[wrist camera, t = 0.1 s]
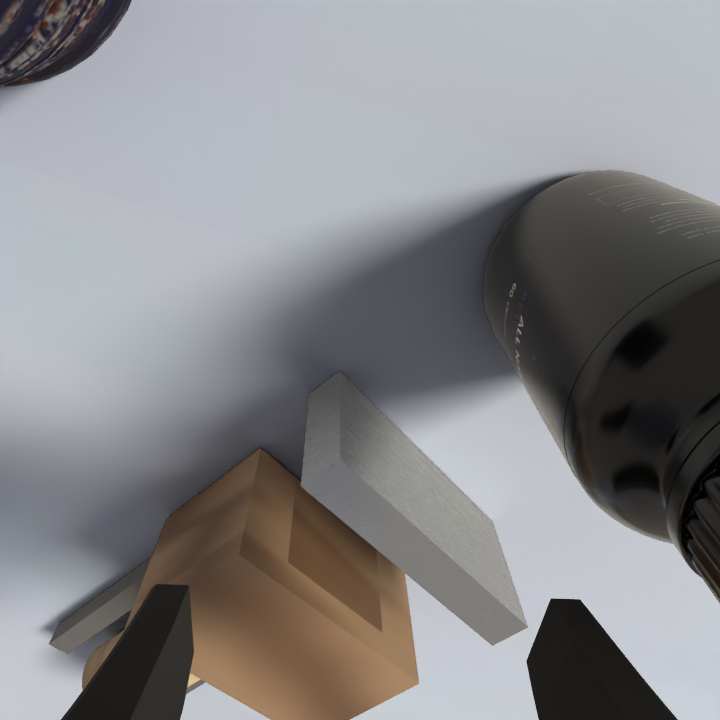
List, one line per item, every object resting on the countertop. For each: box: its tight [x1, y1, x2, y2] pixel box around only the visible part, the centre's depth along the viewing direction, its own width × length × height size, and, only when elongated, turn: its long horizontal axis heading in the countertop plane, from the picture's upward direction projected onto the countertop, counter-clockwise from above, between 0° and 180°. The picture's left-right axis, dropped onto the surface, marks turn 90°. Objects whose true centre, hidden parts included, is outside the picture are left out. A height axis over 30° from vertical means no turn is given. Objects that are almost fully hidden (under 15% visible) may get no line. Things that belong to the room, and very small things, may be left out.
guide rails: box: [49, 557, 205, 694], centre depth 25 cm, size 8×7×1 cm
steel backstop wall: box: [301, 371, 528, 646], centre depth 20 cm, size 2×10×5 cm, turn 40°
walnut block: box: [123, 448, 419, 720], centre depth 21 cm, size 6×9×5 cm, turn 40°
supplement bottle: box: [483, 170, 720, 603], centre depth 13 cm, size 7×7×12 cm
